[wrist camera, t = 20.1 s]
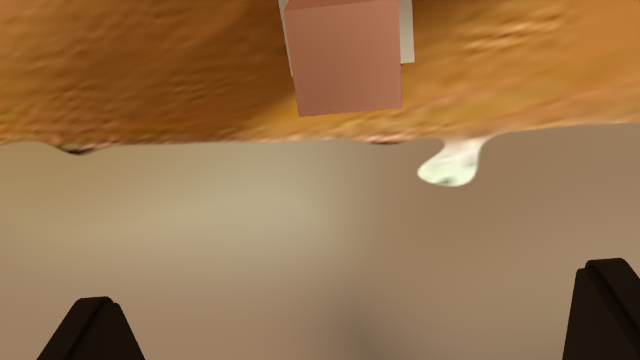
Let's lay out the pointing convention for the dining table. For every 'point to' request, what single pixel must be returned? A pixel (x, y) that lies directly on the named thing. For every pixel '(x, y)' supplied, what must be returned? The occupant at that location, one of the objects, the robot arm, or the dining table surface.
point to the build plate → (404, 26)
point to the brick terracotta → (344, 55)
